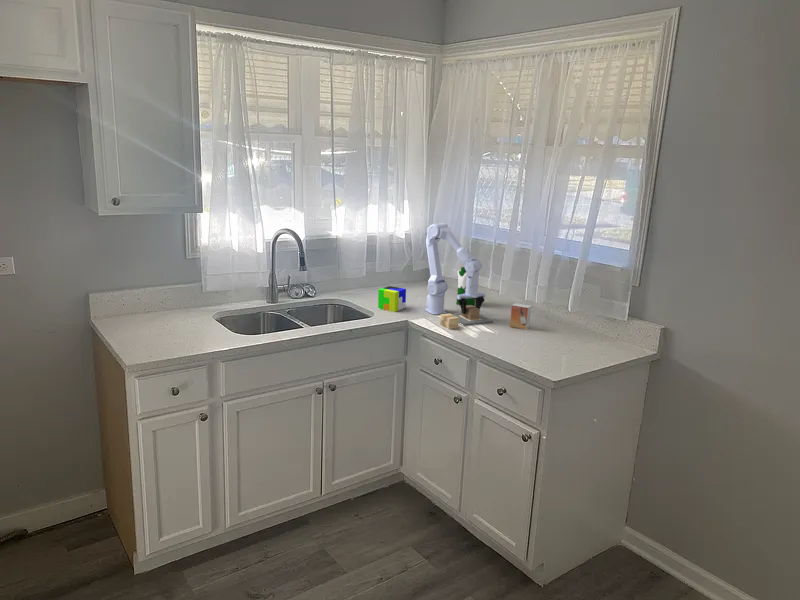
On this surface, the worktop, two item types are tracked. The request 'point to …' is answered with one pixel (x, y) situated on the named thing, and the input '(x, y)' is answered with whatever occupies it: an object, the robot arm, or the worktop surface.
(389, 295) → the puzzle toy
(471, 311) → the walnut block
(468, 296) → the robot arm
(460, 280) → the milk carton
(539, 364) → the worktop surface
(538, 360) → the worktop surface
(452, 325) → the oak block
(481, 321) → the board
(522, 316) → the small box
